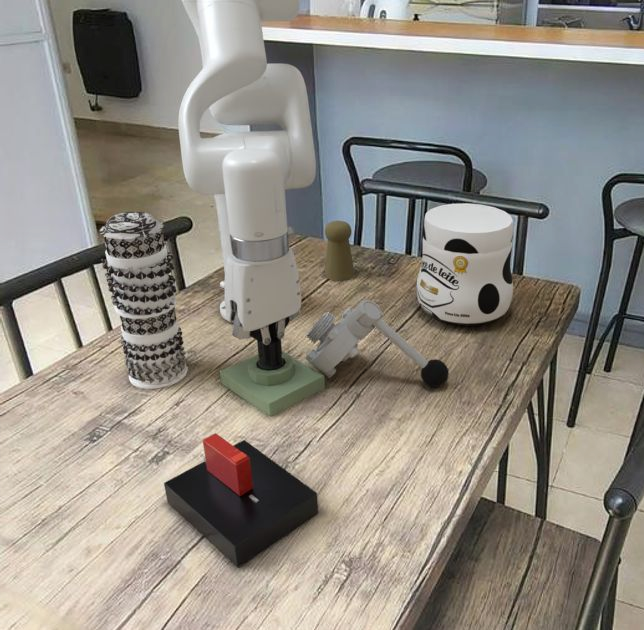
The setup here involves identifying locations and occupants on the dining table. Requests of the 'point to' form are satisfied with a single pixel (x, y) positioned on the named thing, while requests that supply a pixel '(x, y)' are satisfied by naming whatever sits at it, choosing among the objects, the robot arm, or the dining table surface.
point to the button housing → (272, 383)
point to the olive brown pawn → (338, 251)
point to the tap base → (242, 506)
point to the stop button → (268, 368)
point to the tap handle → (228, 464)
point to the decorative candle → (144, 299)
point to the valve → (354, 327)
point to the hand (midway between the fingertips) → (271, 362)
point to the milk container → (466, 264)
